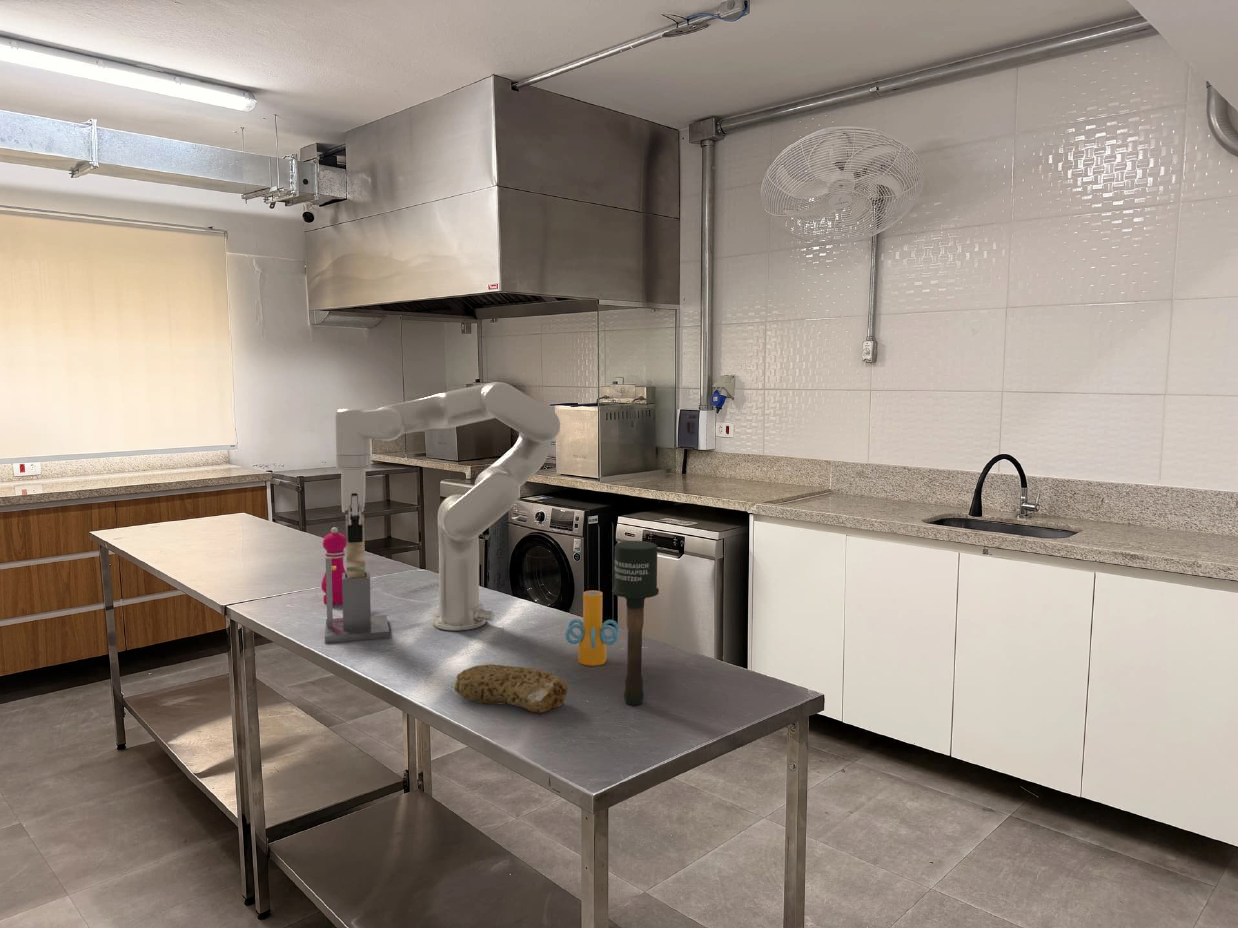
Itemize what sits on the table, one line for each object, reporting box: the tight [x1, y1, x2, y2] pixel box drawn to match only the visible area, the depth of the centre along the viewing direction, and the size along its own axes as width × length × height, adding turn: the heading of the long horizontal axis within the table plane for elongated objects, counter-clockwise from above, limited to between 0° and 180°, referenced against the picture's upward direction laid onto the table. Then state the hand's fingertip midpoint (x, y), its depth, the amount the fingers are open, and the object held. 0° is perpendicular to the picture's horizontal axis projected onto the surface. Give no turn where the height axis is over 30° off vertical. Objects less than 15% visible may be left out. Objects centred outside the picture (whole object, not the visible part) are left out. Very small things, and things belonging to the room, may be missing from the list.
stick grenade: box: [611, 540, 660, 706], centre depth 153 cm, size 8×9×30 cm
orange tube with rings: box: [565, 590, 619, 667], centre depth 175 cm, size 12×10×15 cm
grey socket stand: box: [324, 557, 390, 644], centre depth 194 cm, size 14×14×18 cm
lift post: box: [345, 513, 366, 578], centre depth 193 cm, size 4×4×20 cm
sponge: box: [454, 664, 569, 713], centre depth 153 cm, size 13×8×20 cm
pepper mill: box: [320, 526, 347, 605], centre depth 219 cm, size 7×7×20 cm
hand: (355, 539), depth 192 cm, fingers closed on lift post, 4 cm apart
